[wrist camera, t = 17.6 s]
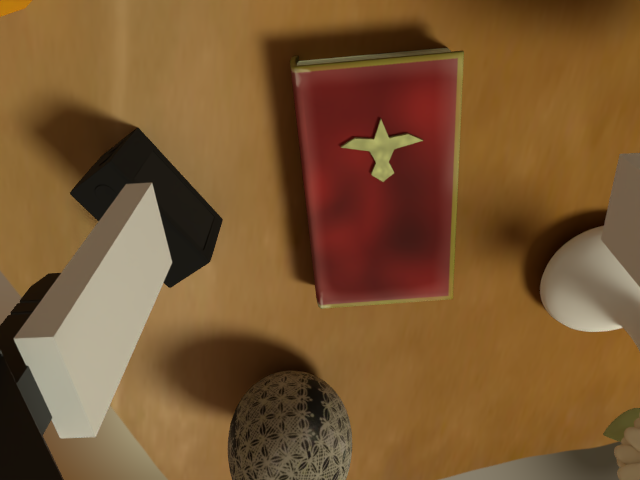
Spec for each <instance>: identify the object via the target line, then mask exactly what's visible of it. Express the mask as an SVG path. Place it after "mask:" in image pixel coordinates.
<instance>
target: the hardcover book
mask: <svg viewBox="0 0 640 480" xmlns="http://www.w3.org/2000/svg"><path fill="white" fill-rule="evenodd" d="M463 60H464V52H463V51H454V52H451V51H450V50H449V49H448V48H437V49H426V50H415V51H404V52H393V53H382V54H371V55H360V56H349V57H338V58H327V59H316V60H305V61H299V57H298V56H293V57H292V58H291V60H290V67H291V75H292V84H293V93H294V102H295V111H296V120H297V129H298V138H299V147H300V156H301V165H302V174H303V182H304V191H305V200H306V209H307V218H308V227H309V236H310V245H311V254H312V263H313V272H314V281H315V289H316V298H317V303H318V306H319V307H320V308H321V309H323V308H336V307H350V306H364V305H378V304H392V303H406V302H420V301H433V300H447V299H453V283H454V261H455V239H456V216H457V194H458V172H459V149H460V127H461V105H462V83H463Z"/></svg>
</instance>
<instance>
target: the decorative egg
mask: <svg viewBox="0 0 640 480" xmlns="http://www.w3.org/2000/svg"><path fill="white" fill-rule="evenodd" d="M351 454H352V432H351V426H350V421H349V417H348V414H347V411H346V409H345V407H344V404H343V402H342V401H341V399H340V398H339V396H338V395H337V393H336V392H335V391H334V390H333V389H332V388H331V387H330V386H329V385H328V384H327V383H326V382H325V381H323V380H321V379H320V378H318V377H316V376H314V375H312V374H309V373H307V372H302V371H281V372H277V373H274V374H271V375H269V376H267V377H265V378H263V379H261V380H260V381H259V382H257V383H256V384H255V385H253V386H252V387H251V388H250V389H249V390H248V391H247V393H246V394H245V395H244V396H243V398H242V399H241V401H240V402H239V404H238V406H237V408H236V410H235V412H234V415H233V418H232V421H231V425H230V430H229V437H228V461H229V467H230V473H231V477H232V480H346V478H347V475H348V471H349V467H350V462H351Z"/></svg>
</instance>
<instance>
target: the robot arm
mask: <svg viewBox="0 0 640 480" xmlns="http://www.w3.org/2000/svg"><path fill="white" fill-rule="evenodd" d="M601 240H602V242H603V243H604V244H605V245H606V247H607V248H608V249H609V250H610V251H611V253H612V254H613V255H614V256H615V258H616V259H617V260H618V261H619V262H620V264H621V265H622V266H623V267H624V269H625V270H626V271H627V272H628V273H629V275H630V276H631V277H632V278H633V280H634V281H635V282H636V283H637V285H638V286H639V287H640V153H631V154H620V156H619V160H618V165H617V169H616V174H615V178H614V183H613V187H612V192H611V196H610V201H609V205H608V210H607V214H606V219H605V223H604V228H603V232H602V237H601ZM171 264H172V260H171V256H170V252H169V248H168V244H167V240H166V236H165V232H164V228H163V224H162V220H161V216H160V212H159V208H158V204H157V200H156V196H155V192H154V188H153V184H152V183H137V184H126V185H125V186H124V188H123V189H122V190H121V192H120V193H119V194H118V196H117V197H116V199H115V200H114V201H113V203H112V204H111V205H110V207H109V208H108V209H107V211H106V212H105V214H104V215H103V216H102V218H101V219H100V220H99V222H98V223H97V225H96V226H95V227H94V229H93V230H92V231H91V233H90V234H89V236H88V237H87V238H86V240H85V241H84V242H83V244H82V245H81V247H80V248H79V249H78V251H77V252H76V253H75V255H74V256H73V258H72V259H71V260H70V262H69V263H68V264H67V266H66V267H65V269H64V270H63V271H62V273H51V274H48V275H46V276H45V277H43V278H42V279H41V280H39V281H38V282H36V283H35V284H34V285H32V286H31V287H30V288H29V289H28V291H27V292H26V293H25V295H24V296H23V297H22V298H21V300H20V303H18V304H17V305H16V306H15V307H14V309H13V310H12V311H11V315H8V316H7V318H6V319H5V320H4V322H3V323H2V324H1V325H0V480H64V479H63V477H62V475H61V473H60V471H59V469H58V467H57V465H56V463H55V461H54V458H53V456H52V454H51V452H50V450H49V448H48V446H47V444H46V442H45V440H44V438H43V434H44V432H45V430H46V428H47V426H48V424H49V423H50V421H51V420H52V422H53V424H54V426H55V428H56V430H57V432H58V434H59V437H60V438H82V437H96V435H97V433H98V431H99V428H100V426H101V424H102V422H103V419H104V417H105V415H106V412H107V410H108V408H109V406H110V403H111V401H112V399H113V396H114V394H115V392H116V390H117V387H118V385H119V383H120V380H121V378H122V376H123V374H124V371H125V369H126V367H127V365H128V362H129V360H130V358H131V355H132V353H133V351H134V349H135V346H136V344H137V342H138V339H139V337H140V335H141V333H142V330H143V328H144V326H145V323H146V321H147V319H148V317H149V314H150V312H151V310H152V307H153V305H154V303H155V301H156V298H157V296H158V294H159V292H160V289H161V287H162V285H163V282H164V280H165V278H166V276H167V273H168V271H169V269H170V266H171Z"/></svg>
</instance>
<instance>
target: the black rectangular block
mask: <svg viewBox="0 0 640 480" xmlns="http://www.w3.org/2000/svg"><path fill="white" fill-rule="evenodd" d="M128 137H129V138H128ZM137 183H152V184H153V188H154V192H155V196H156V200H157V204H158V208H159V212H160V216H161V220H162V224H163V228H164V232H165V236H166V240H167V244H168V248H169V252H170V256H171V260H172V264H171V266H170V269H169V271H168V273H167V276H166V278H165V280H164V282H163V283H164V284H165V285H167V286H168V287H169V288H171V287H172V286H174V285H175V284H177V283H178V282H180V281H182V280H183V279H185V278H186V277H188V276H189V275H191V274H192V273H194V272H195V271H197V270H198V269H200V268H202V267H203V266H205V265H206V264H208V263H209V262H210V260H211V257H212V254H213V251H214V248H215V244H216V241H217V237H218V234H219V231H220V227H221V224H222V220H223V219H222V218H221V217H220V216H219V215H218V214H217V213H216V212H215V211H214V209H213V208H212V207H211V206H210V205H209V204H208V203H207V202H206V201H205V200H204V199H203V197H202V196H201V195H200V194H199V193H198V192H197V191H196V190H195V189H194V188H193V187H192V186H191V184H190V183H189V182H188V181H187V180H186V179H185V178H184V177H183V176H182V175H181V174H180V172H179V171H178V170H177V169H176V168H175V167H174V166H173V165H172V164H171V163H170V162H169V161H168V159H167V158H166V157H165V156H164V155H163V154H162V153H161V152H160V151H159V150H158V149H157V147H156V146H155V145H154V144H153V143H152V142H151V141H150V140H149V139H148V138H147V137H146V136H145V134H144V133H143V132H142V131H141V130H140V129H139V128H137V129H136V130H134V131H133V132H132V133H130V134H129V135H128V136H127V137H125V138H124V139H123V140H121V141H120V142H119V143H118V144H116V145H115V146H114V147H113V148H111V149H110V150H109V151H107V152H106V153H105V154H104V155H102V156H101V157H100V159H99V160H98V161H97V162H96V163H95V164H94V165H93V166H92V168H91V169H90V170H89V171H88V172H87V173H86V174H85V176H84V177H83V178H82V179H81V180H80V181H79V182H78V184H77V185H76V186H75V187H74V188H73V190H72V191H71V192H70V194H71V195H72V196H73V197H74V198H75V199H76V200H77V201H78V202H79V203H80V204H81V205H82V206H83V207H84V208H85V209H86V210H87V211H88V212H89V213H91V214H92V215H93V216H94V217H95V218H96V219H97V220H98V221H99V220H100V219H101V218H102V216H103V215H104V214H105V212H106V211H107V209H108V208H109V207H110V205H111V204H112V203H113V201H114V200H115V199H116V197H117V196H118V194H119V193H120V192H121V190H122V189H123V188H124V186H125V185H126V184H137Z"/></svg>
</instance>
